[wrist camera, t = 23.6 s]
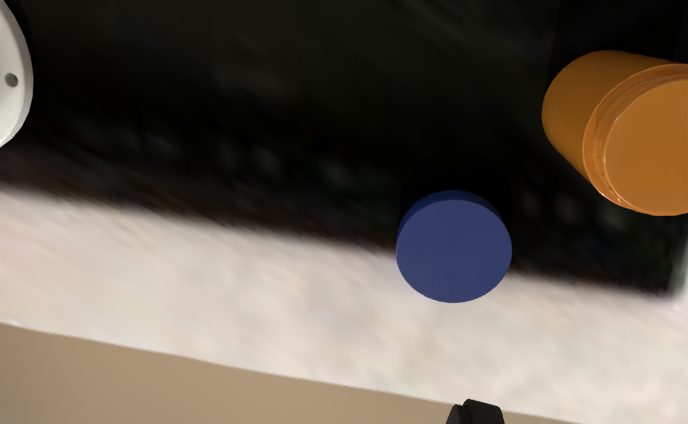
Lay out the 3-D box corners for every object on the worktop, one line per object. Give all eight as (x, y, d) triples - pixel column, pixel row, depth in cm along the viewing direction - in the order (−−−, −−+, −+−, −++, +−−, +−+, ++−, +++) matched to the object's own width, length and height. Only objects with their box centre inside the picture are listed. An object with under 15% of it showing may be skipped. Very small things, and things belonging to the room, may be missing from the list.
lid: (474, 305, 35) (477, 320, 34) (379, 264, 35) (377, 277, 34) (527, 217, 33) (534, 228, 31) (425, 172, 33) (425, 180, 31)
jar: (526, 149, 31) (570, 204, 23) (565, 38, 29) (630, 51, 20) (633, 174, 31) (720, 239, 22) (681, 64, 29) (800, 89, 20)
